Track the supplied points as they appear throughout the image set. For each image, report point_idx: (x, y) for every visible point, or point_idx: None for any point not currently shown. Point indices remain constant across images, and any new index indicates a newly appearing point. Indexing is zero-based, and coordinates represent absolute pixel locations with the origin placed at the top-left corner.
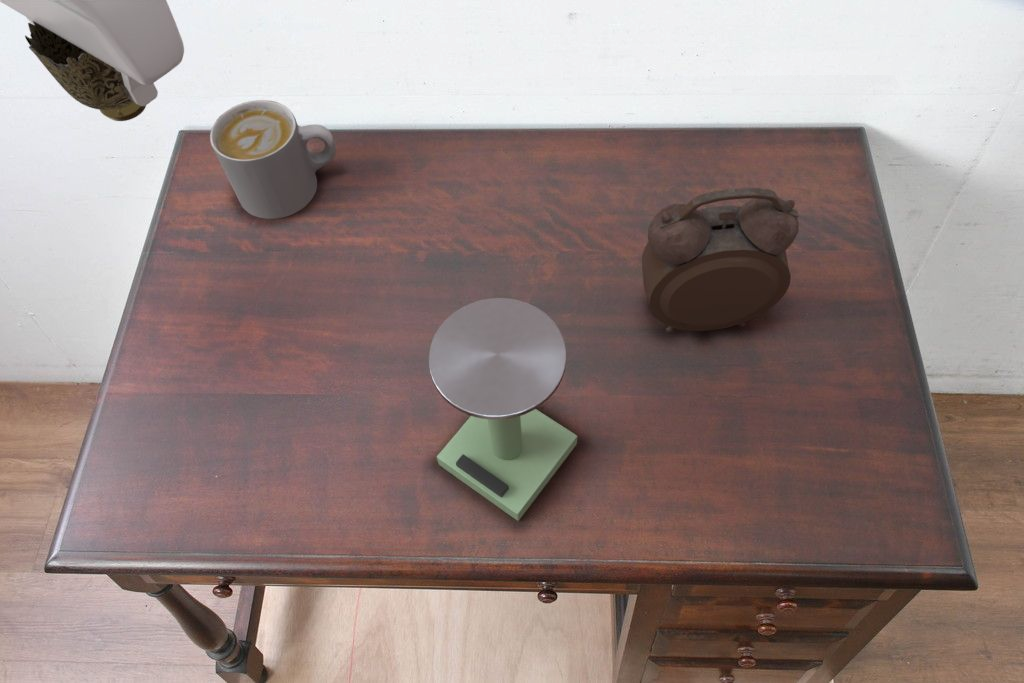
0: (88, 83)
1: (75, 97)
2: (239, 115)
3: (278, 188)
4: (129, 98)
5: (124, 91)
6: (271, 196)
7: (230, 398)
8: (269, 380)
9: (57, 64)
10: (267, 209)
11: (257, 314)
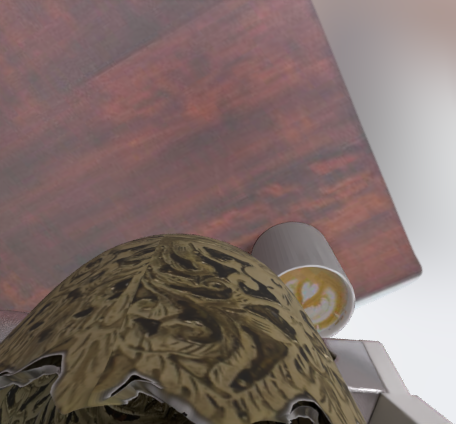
0: (26, 319)
1: (164, 242)
2: (340, 314)
3: (262, 257)
4: (11, 316)
5: (7, 334)
6: (268, 247)
7: (166, 27)
8: (145, 67)
9: (50, 371)
10: (274, 233)
11: (210, 128)
